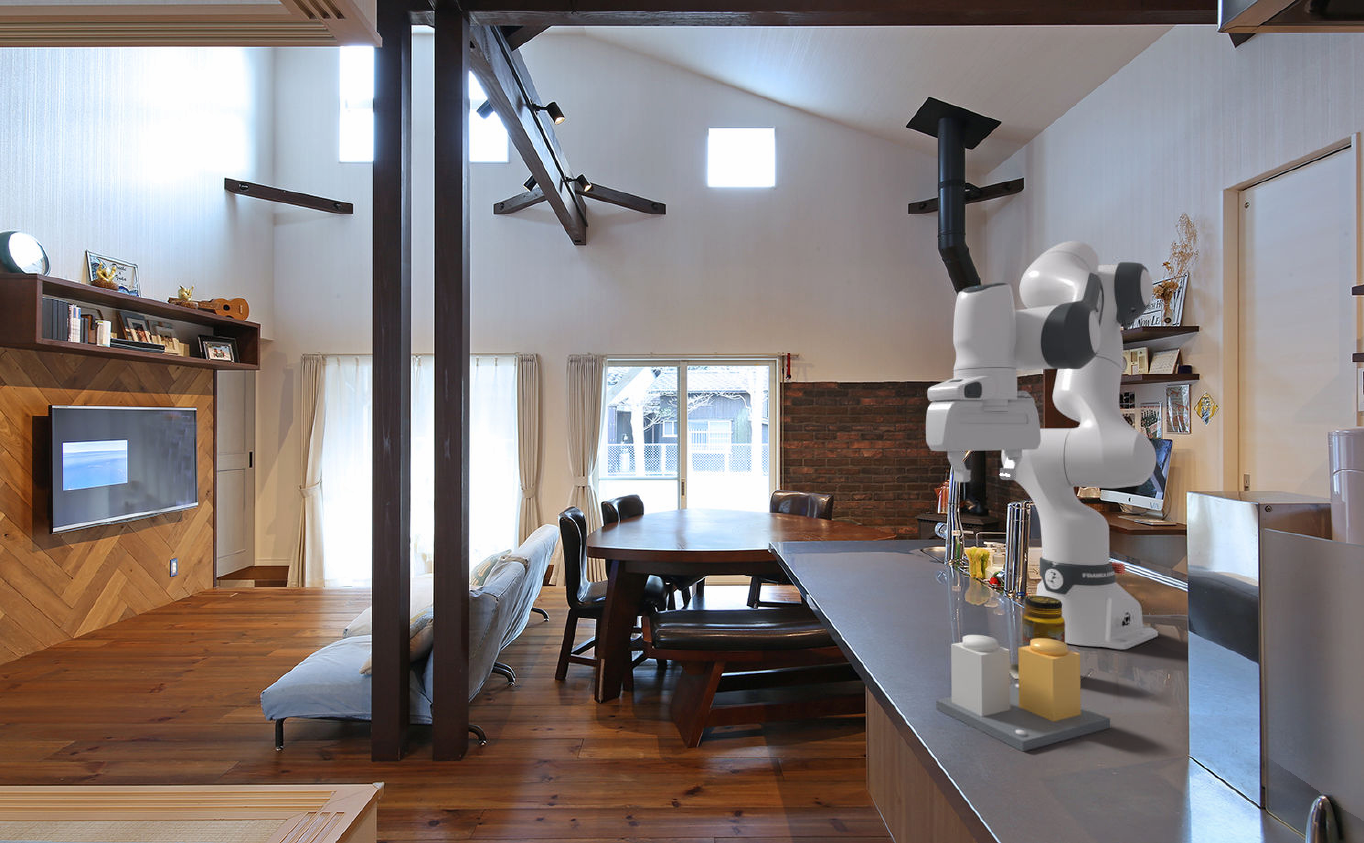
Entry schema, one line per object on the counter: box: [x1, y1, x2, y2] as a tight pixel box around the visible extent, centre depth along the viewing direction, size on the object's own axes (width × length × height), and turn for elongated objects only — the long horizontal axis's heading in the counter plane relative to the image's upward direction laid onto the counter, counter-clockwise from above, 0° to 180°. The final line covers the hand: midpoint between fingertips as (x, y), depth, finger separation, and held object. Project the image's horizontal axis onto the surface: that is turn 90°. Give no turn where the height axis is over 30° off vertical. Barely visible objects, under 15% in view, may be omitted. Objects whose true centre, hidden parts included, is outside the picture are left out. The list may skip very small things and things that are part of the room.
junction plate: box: [935, 634, 1111, 752], centre depth 93 cm, size 16×14×10 cm
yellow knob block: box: [1017, 638, 1082, 722], centre depth 92 cm, size 5×5×9 cm
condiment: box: [1010, 595, 1065, 680], centre depth 110 cm, size 7×8×12 cm
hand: (985, 480), depth 104 cm, fingers open, 8 cm apart
